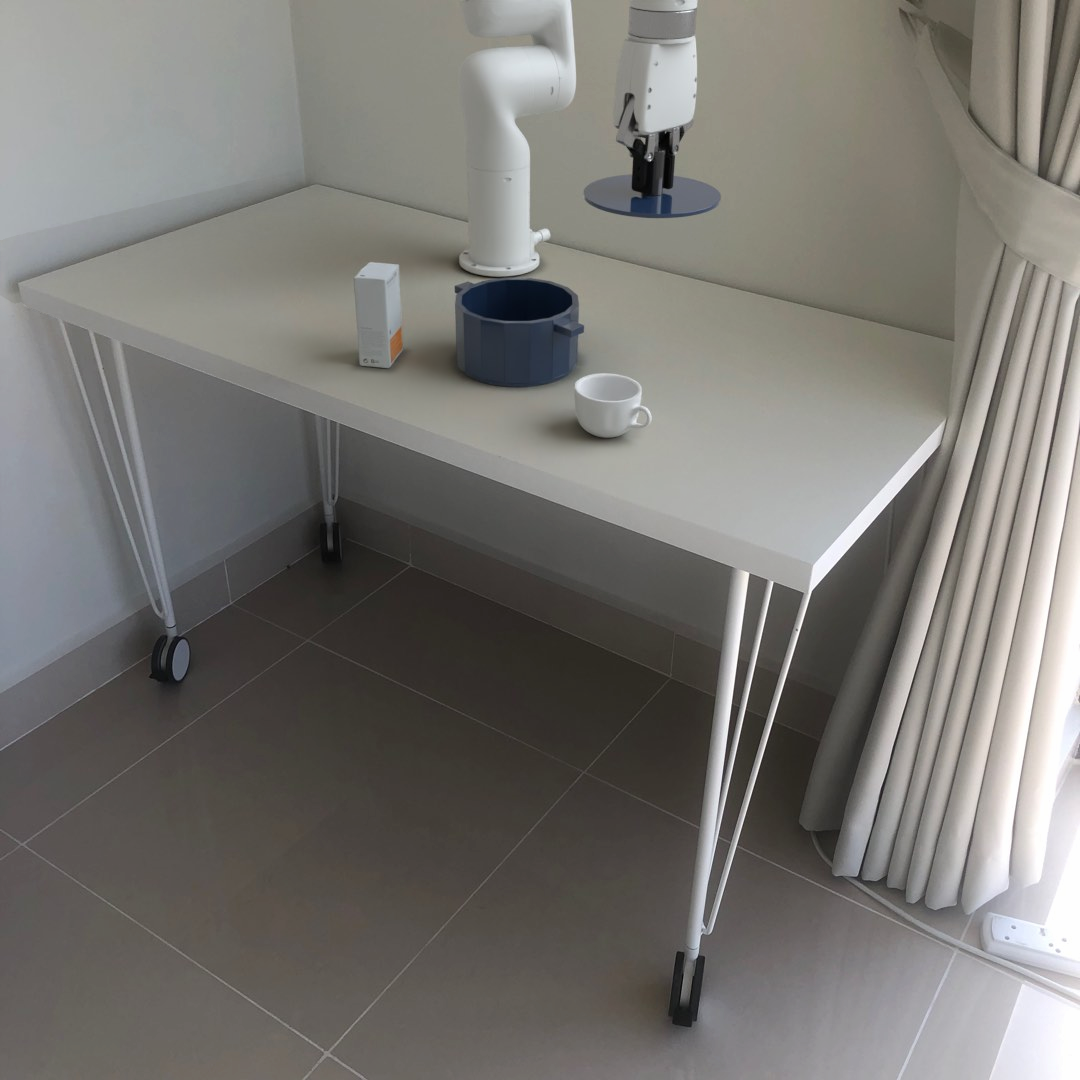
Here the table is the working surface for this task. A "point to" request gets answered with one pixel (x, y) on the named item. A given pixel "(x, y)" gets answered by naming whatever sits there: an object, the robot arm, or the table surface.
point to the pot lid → (663, 203)
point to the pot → (516, 331)
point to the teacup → (609, 404)
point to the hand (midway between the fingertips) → (652, 188)
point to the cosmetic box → (378, 314)
